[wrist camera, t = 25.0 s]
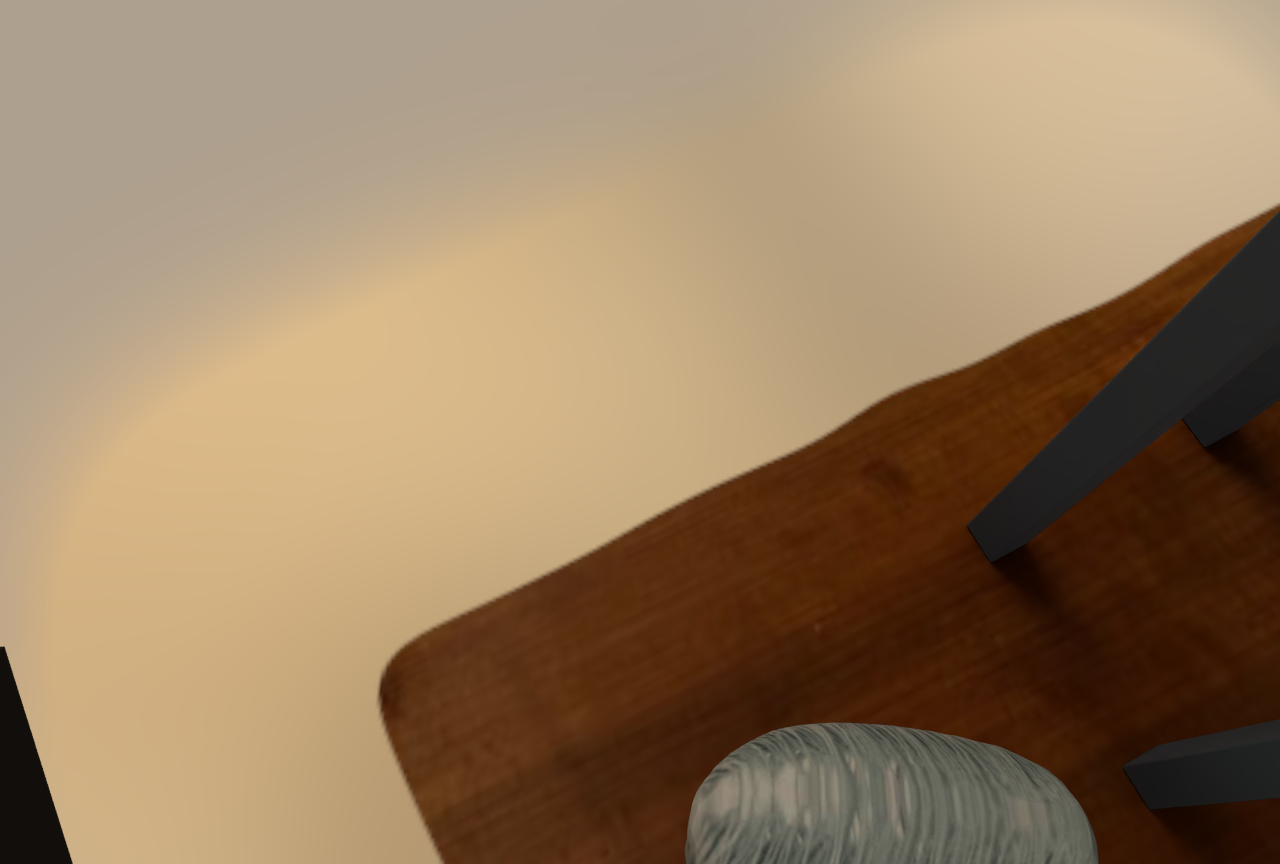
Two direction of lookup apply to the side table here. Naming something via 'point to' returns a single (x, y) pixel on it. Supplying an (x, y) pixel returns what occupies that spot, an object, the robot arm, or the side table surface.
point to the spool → (883, 802)
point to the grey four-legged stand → (1125, 425)
